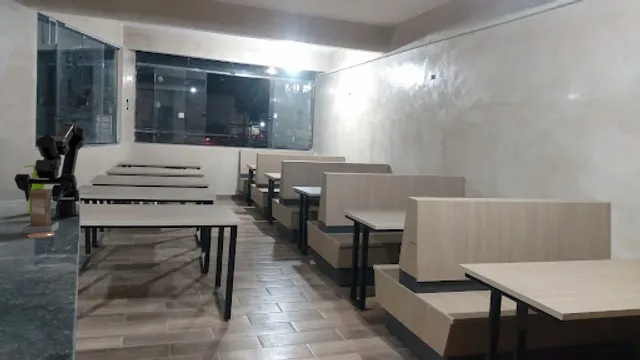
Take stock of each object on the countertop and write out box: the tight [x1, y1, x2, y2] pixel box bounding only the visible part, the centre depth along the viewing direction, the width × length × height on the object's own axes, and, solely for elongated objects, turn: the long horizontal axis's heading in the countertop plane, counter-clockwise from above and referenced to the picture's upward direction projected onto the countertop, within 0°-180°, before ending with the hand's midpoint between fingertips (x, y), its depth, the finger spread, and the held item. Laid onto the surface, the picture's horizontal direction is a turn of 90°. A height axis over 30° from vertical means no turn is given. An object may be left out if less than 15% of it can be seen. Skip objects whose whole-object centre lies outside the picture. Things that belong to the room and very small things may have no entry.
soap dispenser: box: [23, 164, 46, 215], centre depth 195 cm, size 6×7×20 cm
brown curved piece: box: [27, 231, 55, 239], centre depth 154 cm, size 8×8×1 cm
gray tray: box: [22, 221, 60, 234], centre depth 162 cm, size 9×9×2 cm
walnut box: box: [29, 188, 52, 227], centre depth 161 cm, size 5×5×14 cm
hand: (42, 200), depth 163 cm, fingers open, 9 cm apart
